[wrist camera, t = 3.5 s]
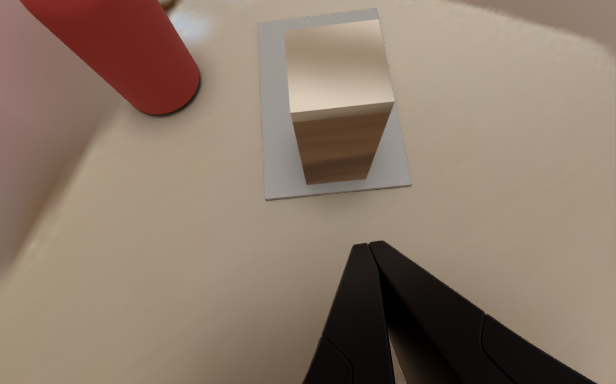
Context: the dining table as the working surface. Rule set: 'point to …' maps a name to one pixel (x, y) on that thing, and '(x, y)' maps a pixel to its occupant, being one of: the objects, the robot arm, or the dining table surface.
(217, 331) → the dining table surface
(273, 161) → the rubber mat
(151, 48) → the beer can
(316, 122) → the walnut block
